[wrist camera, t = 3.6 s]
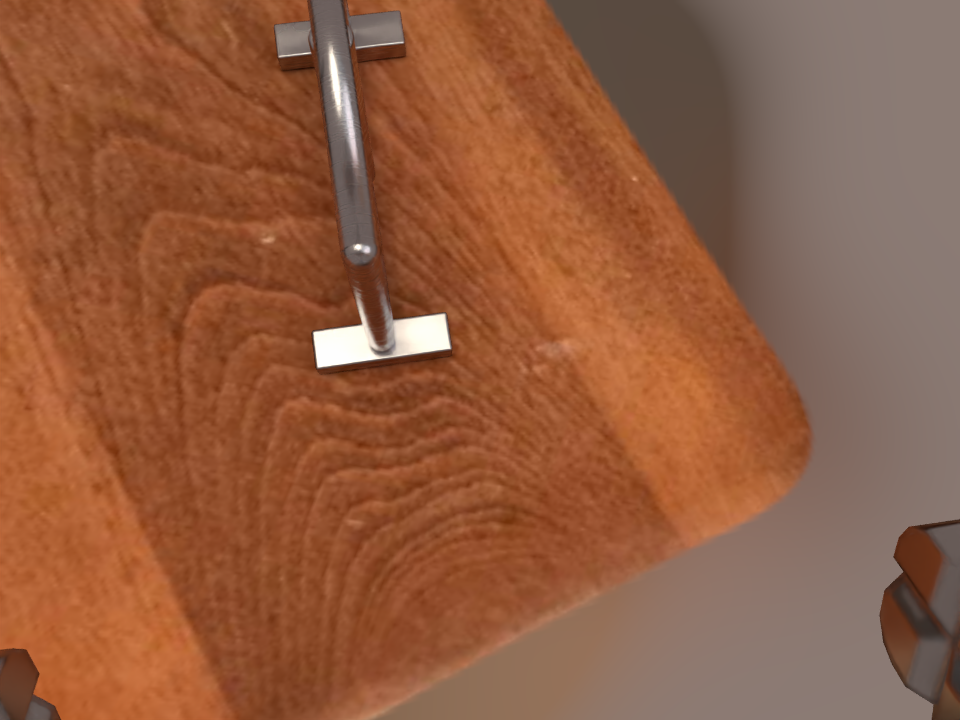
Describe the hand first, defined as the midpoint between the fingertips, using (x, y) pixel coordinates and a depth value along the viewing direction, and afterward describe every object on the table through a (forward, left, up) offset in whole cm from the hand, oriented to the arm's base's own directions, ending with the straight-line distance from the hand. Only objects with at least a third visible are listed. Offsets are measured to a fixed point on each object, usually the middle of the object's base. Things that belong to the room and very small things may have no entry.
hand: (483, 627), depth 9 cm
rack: (+12, 0, -18) cm, 22 cm away
